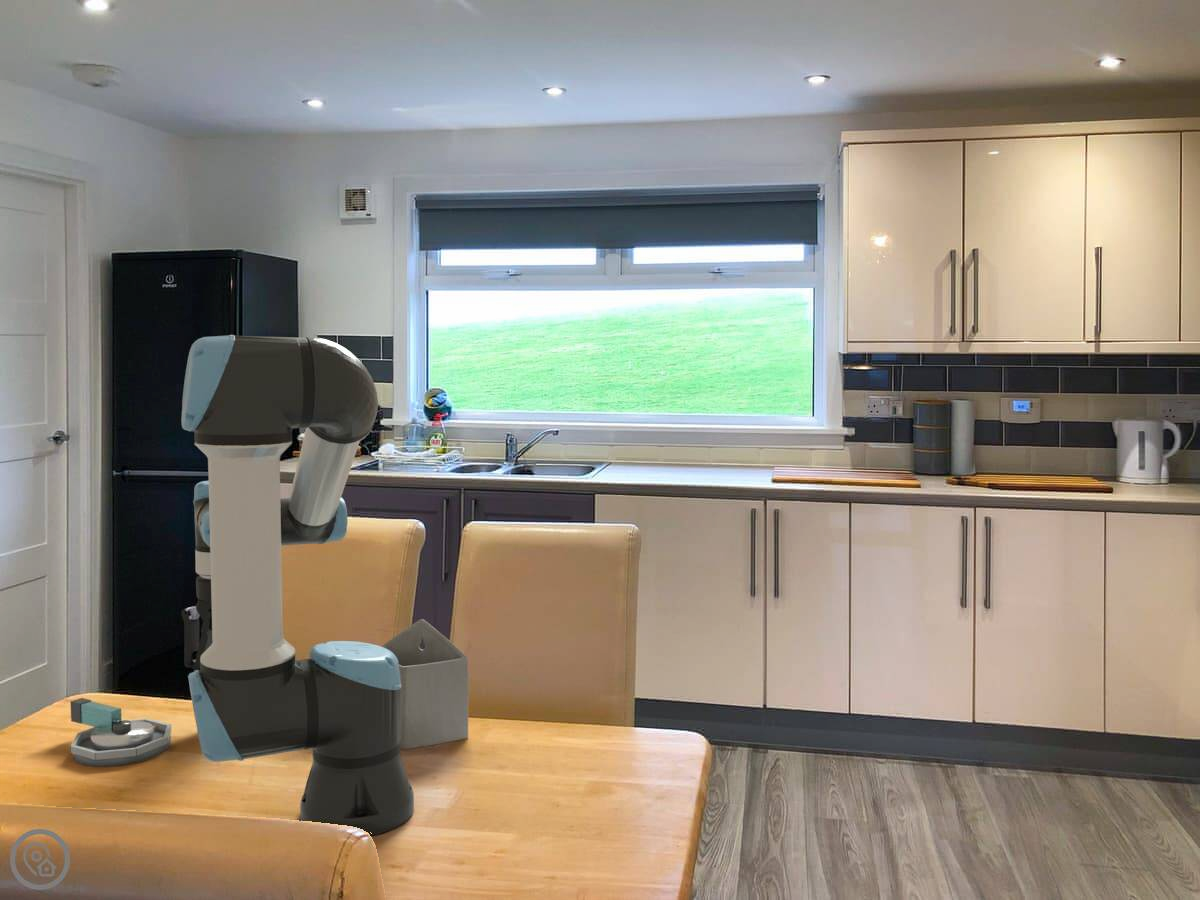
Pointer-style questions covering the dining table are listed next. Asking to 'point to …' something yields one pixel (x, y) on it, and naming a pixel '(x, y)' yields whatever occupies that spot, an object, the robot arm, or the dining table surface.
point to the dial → (110, 726)
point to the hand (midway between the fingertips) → (223, 709)
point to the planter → (430, 687)
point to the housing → (103, 758)
